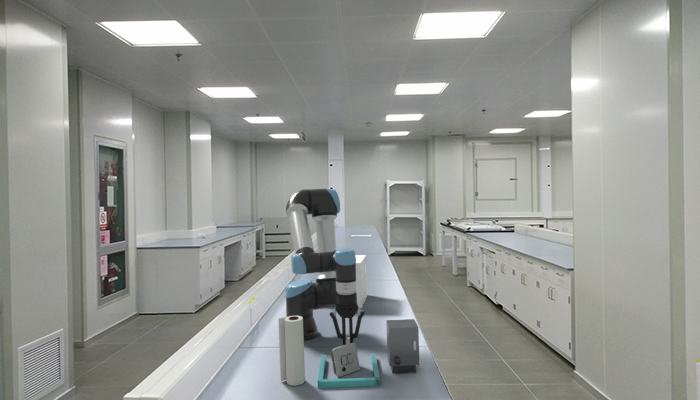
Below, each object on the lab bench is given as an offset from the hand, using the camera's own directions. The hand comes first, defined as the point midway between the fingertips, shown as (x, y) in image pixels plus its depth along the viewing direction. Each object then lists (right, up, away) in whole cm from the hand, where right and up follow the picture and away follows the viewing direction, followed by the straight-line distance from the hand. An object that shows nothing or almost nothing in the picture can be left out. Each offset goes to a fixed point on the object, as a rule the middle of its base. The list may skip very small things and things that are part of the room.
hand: (348, 356), depth 142 cm
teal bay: (0, -3, -7) cm, 8 cm away
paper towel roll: (-18, -3, -13) cm, 22 cm away
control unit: (+19, -2, -6) cm, 20 cm away
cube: (-1, -1, +79) cm, 79 cm away
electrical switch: (-1, -3, -7) cm, 7 cm away
